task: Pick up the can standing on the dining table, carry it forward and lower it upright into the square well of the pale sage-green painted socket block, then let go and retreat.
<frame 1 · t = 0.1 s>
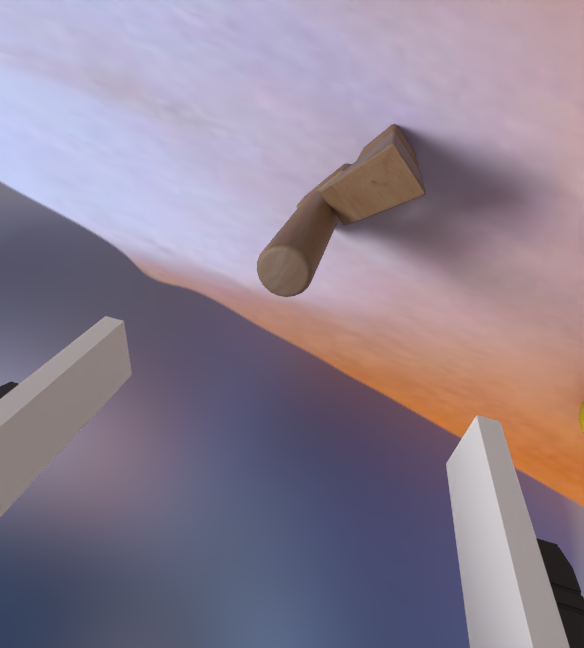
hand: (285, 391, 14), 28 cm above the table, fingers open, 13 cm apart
wooden block: (356, 177, 36), on the table
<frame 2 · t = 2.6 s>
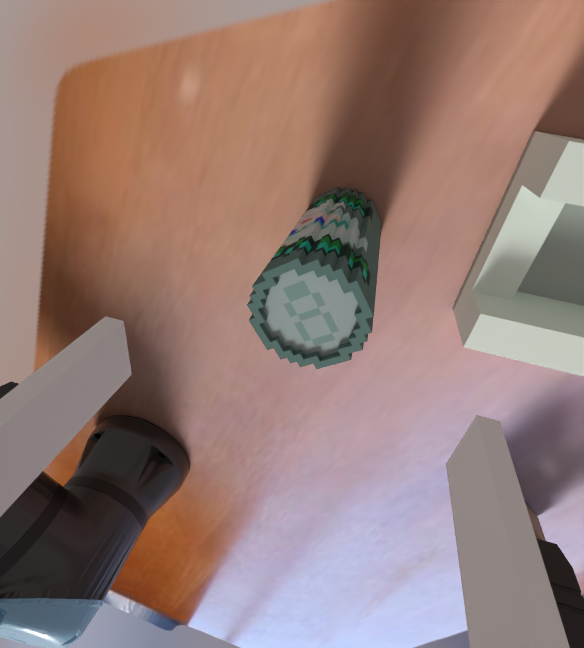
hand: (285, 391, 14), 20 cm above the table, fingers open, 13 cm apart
can: (342, 225, 31), on the table
socket block: (583, 251, 27), on the table
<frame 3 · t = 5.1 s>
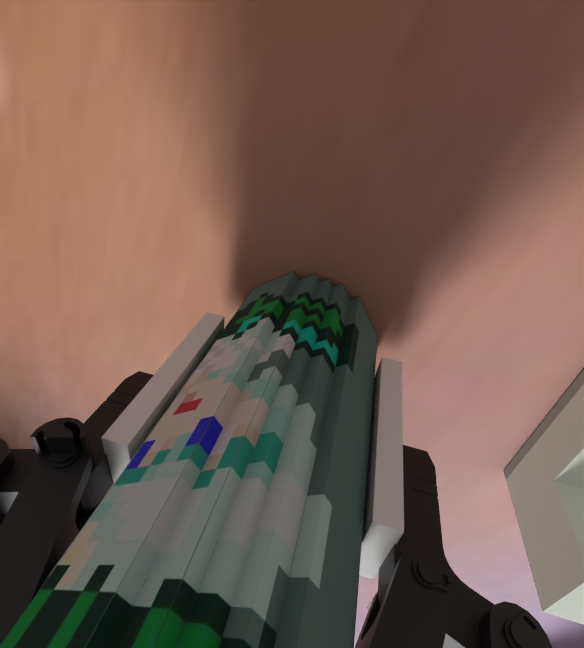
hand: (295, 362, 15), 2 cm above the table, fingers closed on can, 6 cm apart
can: (306, 333, 17), on the table, touching gripper
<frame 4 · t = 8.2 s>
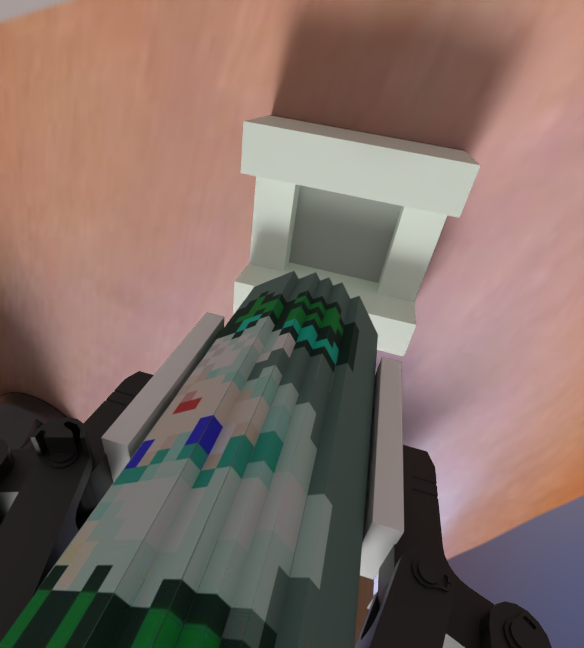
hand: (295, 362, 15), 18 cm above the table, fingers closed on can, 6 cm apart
can: (306, 333, 17), point 16 cm above the table, touching gripper
socket block: (343, 226, 30), on the table
wooden block: (348, 460, 46), on the table
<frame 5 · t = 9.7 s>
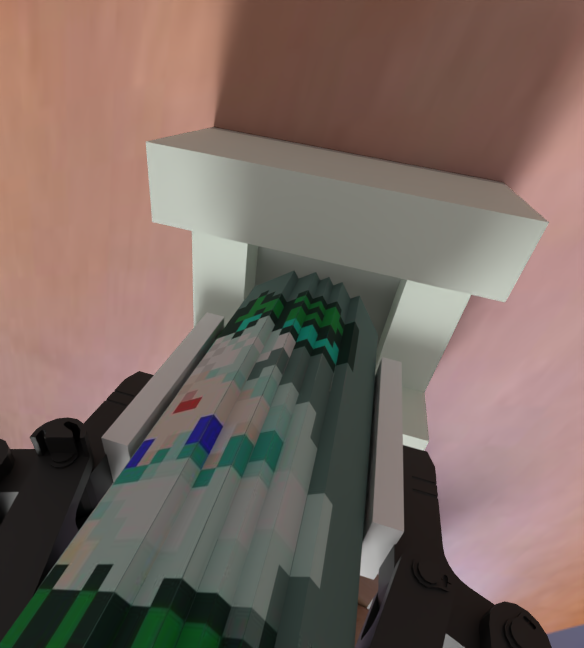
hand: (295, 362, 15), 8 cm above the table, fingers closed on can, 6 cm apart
can: (306, 332, 17), point 5 cm above the table, touching gripper
socket block: (324, 282, 21), on the table
wooden block: (338, 548, 37), on the table
when the fingers open (3 cm above the table, at t = 11.2 s): can stays where it is, resting on socket block.
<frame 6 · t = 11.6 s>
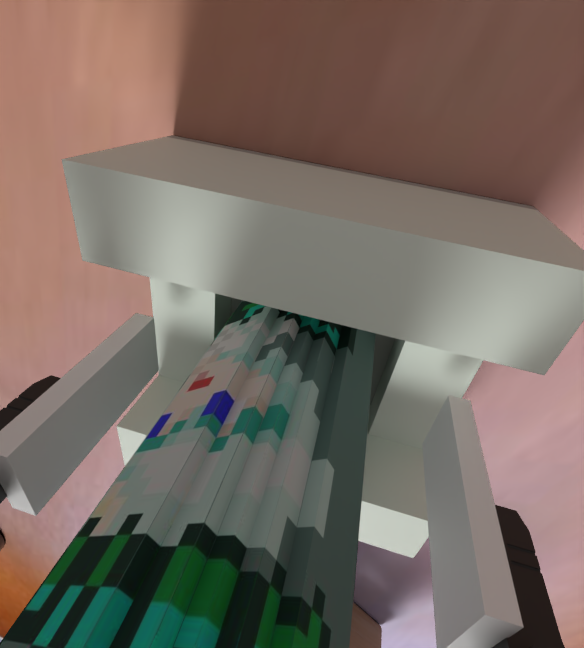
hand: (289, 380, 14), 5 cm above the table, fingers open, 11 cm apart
can: (308, 322, 18), resting on socket block
socket block: (311, 319, 18), on the table
wooden block: (333, 594, 34), on the table
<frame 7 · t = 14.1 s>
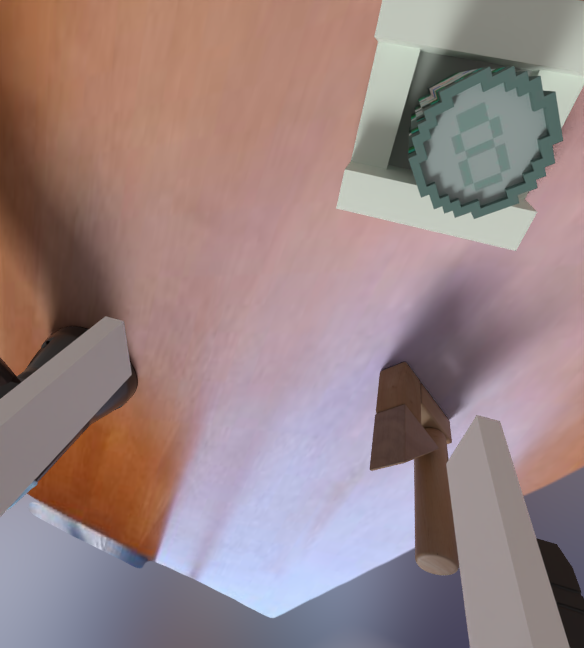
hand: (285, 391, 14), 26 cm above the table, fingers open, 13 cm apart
can: (451, 121, 29), resting on socket block
socket block: (452, 121, 29), on the table
wooden block: (414, 394, 45), on the table
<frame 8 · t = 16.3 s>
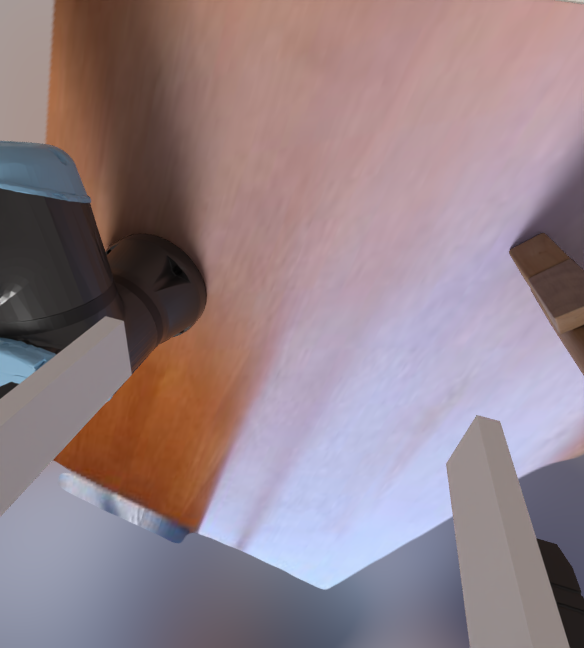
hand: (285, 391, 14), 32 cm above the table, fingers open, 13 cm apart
wooden block: (545, 278, 40), on the table
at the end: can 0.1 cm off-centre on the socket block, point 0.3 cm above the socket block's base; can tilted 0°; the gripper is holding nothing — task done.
